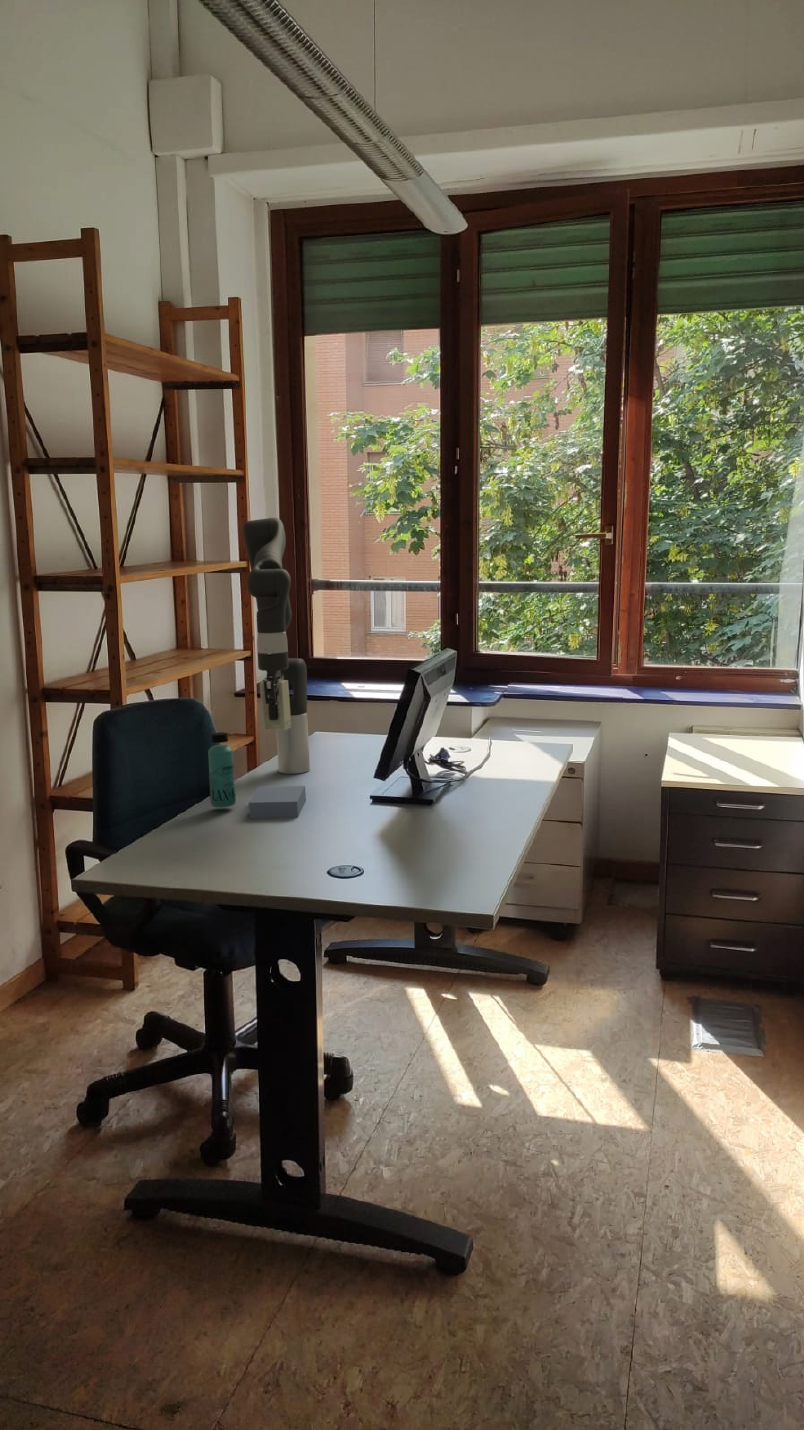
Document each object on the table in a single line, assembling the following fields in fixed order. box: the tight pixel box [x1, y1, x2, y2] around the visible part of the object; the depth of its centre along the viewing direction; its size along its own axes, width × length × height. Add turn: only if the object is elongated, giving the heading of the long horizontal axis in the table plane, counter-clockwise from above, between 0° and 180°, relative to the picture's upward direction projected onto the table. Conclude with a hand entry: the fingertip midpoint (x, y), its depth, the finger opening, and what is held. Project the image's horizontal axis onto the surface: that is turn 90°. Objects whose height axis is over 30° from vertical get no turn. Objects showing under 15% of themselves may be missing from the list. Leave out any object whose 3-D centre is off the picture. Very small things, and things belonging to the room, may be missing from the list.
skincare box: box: [259, 680, 291, 731], centre depth 263 cm, size 6×4×12 cm
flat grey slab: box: [248, 785, 307, 820], centre depth 268 cm, size 16×12×4 cm
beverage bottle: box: [207, 731, 237, 808], centre depth 268 cm, size 6×7×20 cm
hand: (275, 717), depth 264 cm, fingers closed on skincare box, 5 cm apart
